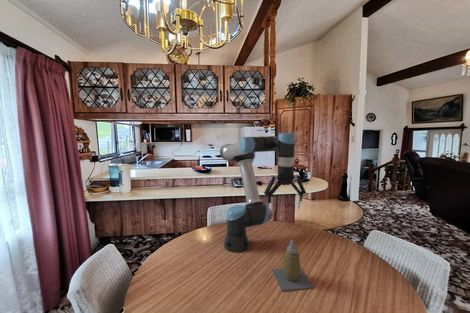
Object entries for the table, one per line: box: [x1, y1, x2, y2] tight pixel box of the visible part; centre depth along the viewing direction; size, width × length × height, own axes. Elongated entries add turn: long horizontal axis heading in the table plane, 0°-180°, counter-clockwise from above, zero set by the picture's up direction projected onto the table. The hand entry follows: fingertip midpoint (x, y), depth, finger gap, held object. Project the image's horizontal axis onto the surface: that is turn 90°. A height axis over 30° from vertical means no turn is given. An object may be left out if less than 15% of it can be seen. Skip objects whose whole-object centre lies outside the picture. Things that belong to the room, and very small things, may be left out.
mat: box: [271, 267, 314, 292], centre depth 98 cm, size 14×14×1 cm
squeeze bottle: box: [282, 239, 302, 282], centre depth 97 cm, size 8×8×18 cm
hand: (284, 208), depth 104 cm, fingers open, 13 cm apart
